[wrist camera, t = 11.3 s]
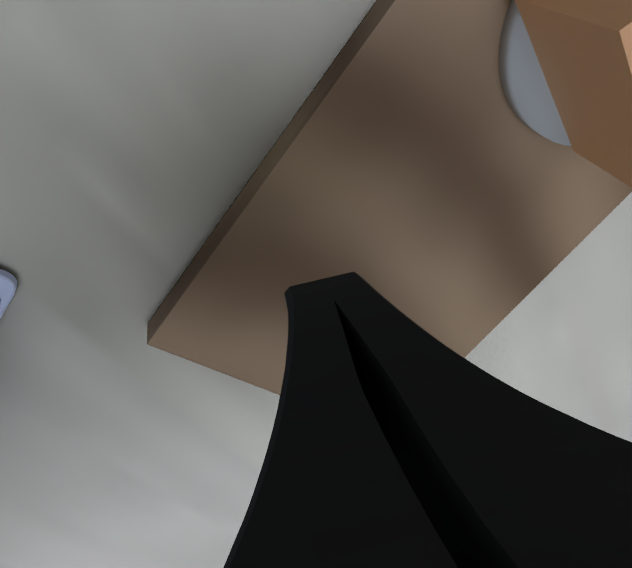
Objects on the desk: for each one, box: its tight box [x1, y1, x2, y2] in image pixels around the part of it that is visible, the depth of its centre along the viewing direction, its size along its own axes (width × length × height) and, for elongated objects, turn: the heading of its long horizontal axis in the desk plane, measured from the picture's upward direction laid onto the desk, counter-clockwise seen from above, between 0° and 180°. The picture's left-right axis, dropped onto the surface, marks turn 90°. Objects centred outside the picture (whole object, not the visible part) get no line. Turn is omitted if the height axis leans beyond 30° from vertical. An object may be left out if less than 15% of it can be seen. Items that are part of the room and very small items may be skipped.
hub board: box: [147, 0, 632, 395], centre depth 18 cm, size 21×12×6 cm, turn 142°
